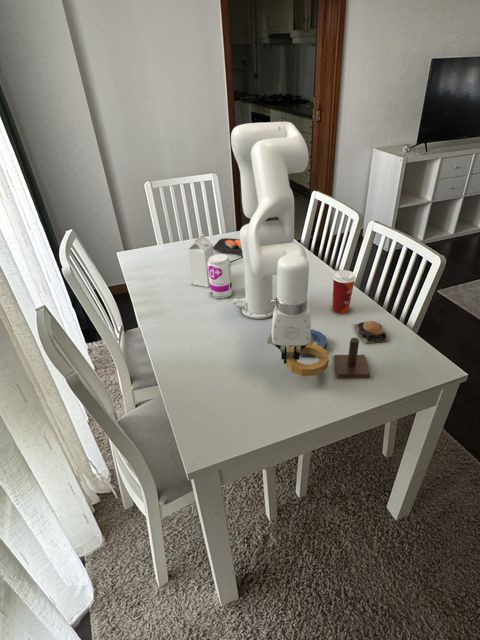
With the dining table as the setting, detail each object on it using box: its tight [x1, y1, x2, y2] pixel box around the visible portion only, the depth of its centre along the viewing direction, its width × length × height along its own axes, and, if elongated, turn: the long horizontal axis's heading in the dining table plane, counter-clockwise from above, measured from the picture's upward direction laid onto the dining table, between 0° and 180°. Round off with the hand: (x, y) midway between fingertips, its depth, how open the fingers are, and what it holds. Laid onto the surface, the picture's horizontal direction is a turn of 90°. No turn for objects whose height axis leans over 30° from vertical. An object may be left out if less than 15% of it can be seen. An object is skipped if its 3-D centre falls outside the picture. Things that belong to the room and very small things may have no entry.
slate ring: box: [288, 328, 328, 358], centre depth 128 cm, size 12×12×2 cm
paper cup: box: [332, 269, 356, 315], centre depth 142 cm, size 8×8×14 cm
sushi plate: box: [213, 237, 243, 264], centre depth 185 cm, size 29×30×4 cm
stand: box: [333, 337, 371, 379], centre depth 116 cm, size 9×9×10 cm
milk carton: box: [187, 233, 215, 288], centre depth 160 cm, size 7×7×19 cm
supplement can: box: [207, 253, 233, 299], centre depth 153 cm, size 8×8×15 cm
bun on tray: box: [355, 320, 389, 344], centre depth 132 cm, size 11×8×4 cm
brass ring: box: [285, 343, 330, 377], centre depth 113 cm, size 12×12×2 cm
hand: (290, 360), depth 114 cm, fingers closed on brass ring, 2 cm apart
